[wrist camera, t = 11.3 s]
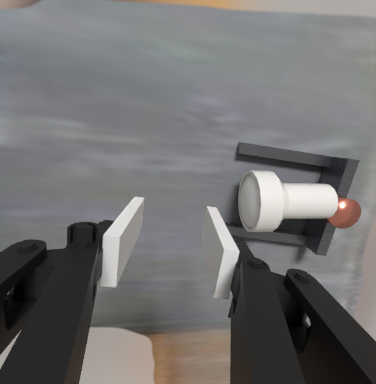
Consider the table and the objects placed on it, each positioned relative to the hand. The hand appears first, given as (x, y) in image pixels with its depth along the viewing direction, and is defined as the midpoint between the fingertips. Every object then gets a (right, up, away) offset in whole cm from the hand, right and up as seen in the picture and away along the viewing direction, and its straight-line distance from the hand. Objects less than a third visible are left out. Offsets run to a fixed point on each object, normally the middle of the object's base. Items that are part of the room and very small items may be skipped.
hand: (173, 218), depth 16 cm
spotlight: (+14, +2, +15) cm, 20 cm away
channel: (+15, +1, +15) cm, 22 cm away
